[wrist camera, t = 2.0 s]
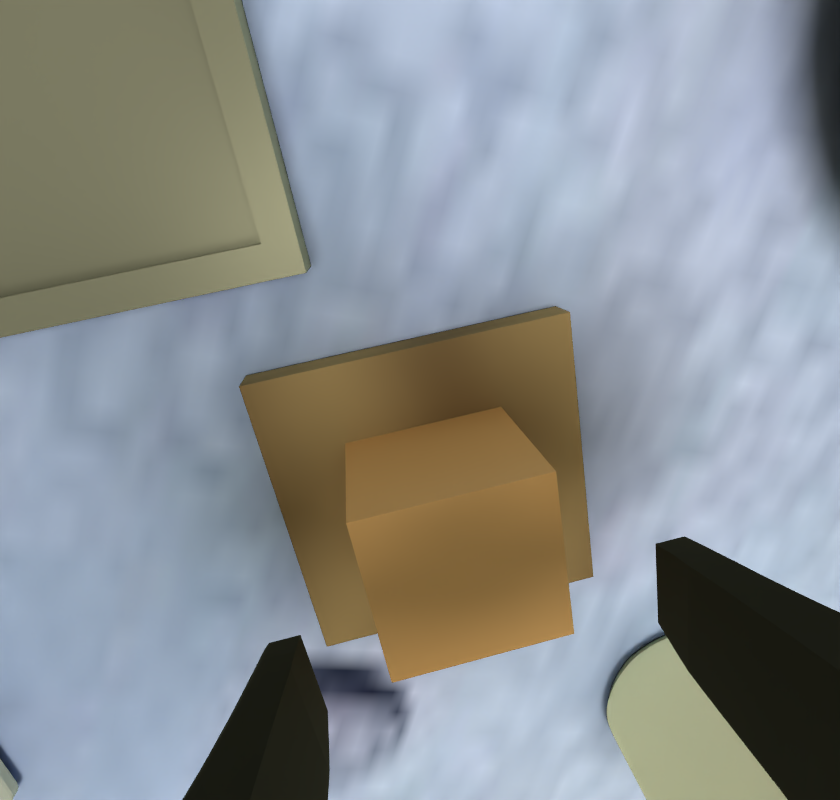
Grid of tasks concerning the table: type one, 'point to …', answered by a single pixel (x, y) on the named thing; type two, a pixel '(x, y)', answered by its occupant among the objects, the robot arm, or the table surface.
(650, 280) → the table surface
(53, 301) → the tray
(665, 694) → the can
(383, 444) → the orange cube
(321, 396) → the post base
